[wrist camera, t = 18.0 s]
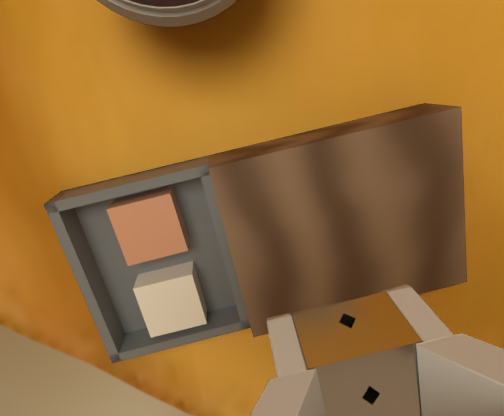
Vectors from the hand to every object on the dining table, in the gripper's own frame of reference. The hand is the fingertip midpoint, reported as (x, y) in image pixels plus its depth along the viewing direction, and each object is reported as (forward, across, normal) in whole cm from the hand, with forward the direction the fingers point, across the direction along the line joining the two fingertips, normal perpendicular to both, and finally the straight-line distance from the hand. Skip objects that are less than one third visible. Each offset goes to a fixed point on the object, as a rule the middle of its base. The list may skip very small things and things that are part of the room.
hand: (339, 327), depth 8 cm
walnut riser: (+25, -6, +9) cm, 27 cm away
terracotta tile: (+21, +10, +5) cm, 24 cm away
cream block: (+21, +10, +12) cm, 26 cm away
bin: (+25, +10, +8) cm, 28 cm away
